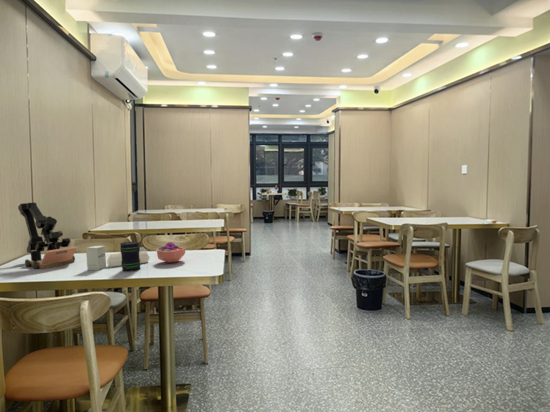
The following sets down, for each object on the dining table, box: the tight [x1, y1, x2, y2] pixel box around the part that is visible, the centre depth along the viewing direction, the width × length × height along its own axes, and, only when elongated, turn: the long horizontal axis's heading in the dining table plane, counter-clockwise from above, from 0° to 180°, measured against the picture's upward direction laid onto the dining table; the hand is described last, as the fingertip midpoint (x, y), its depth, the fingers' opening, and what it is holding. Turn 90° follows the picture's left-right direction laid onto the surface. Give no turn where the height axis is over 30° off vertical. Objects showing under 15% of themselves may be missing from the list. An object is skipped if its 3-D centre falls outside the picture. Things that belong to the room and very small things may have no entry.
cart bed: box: [24, 254, 76, 270], centre depth 255 cm, size 18×23×4 cm
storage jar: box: [119, 241, 142, 273], centre depth 229 cm, size 10×10×15 cm
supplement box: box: [85, 245, 107, 271], centre depth 235 cm, size 7×7×13 cm
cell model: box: [155, 242, 186, 264], centre depth 246 cm, size 17×20×11 cm
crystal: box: [106, 250, 150, 268], centre depth 246 cm, size 7×7×24 cm
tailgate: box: [41, 246, 77, 265], centre depth 247 cm, size 2×17×11 cm
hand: (58, 255), depth 248 cm, fingers closed, pressing on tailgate
